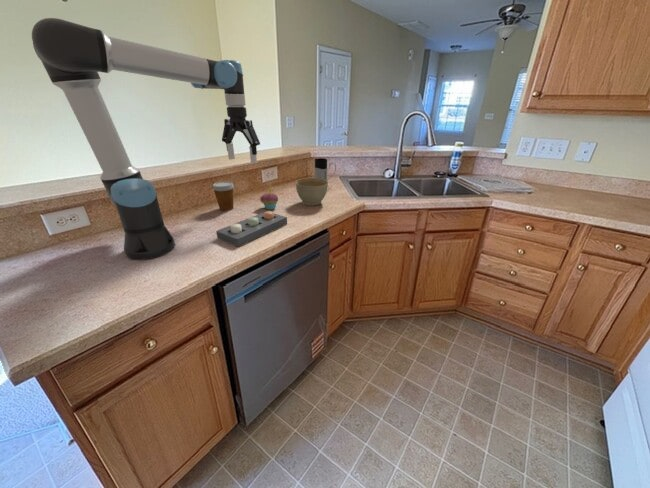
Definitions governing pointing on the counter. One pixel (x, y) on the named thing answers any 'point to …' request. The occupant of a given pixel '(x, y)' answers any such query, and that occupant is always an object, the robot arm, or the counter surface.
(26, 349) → the counter surface
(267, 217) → the terracotta button
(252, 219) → the sage button
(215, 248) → the counter surface
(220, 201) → the disposable coffee cup
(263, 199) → the cupcake
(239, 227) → the white rounded piece
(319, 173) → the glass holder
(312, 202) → the planter bowl
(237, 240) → the button panel
